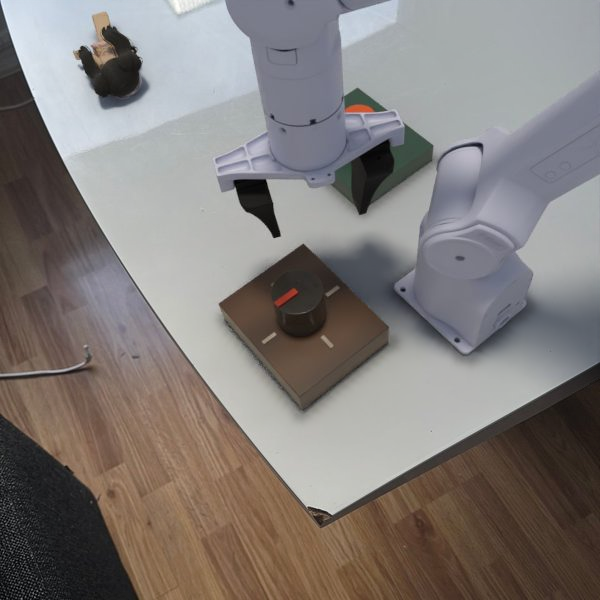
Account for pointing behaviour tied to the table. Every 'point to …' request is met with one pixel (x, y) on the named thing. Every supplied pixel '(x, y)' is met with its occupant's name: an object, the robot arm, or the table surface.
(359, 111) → the button
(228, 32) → the table surface
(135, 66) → the toy figure
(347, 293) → the panel
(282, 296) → the knob
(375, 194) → the button box
